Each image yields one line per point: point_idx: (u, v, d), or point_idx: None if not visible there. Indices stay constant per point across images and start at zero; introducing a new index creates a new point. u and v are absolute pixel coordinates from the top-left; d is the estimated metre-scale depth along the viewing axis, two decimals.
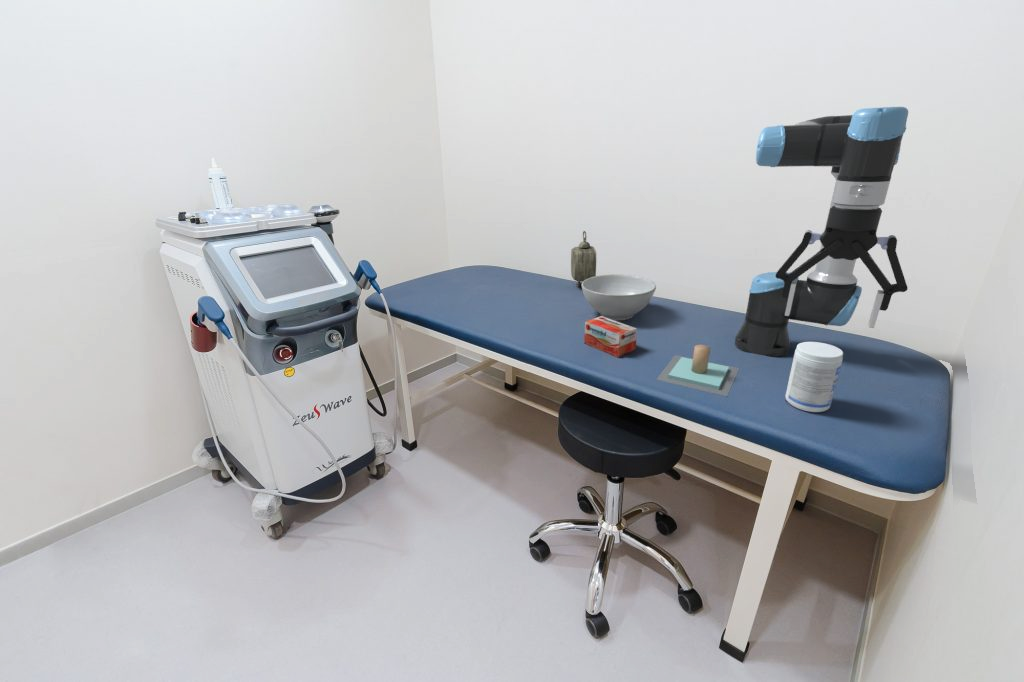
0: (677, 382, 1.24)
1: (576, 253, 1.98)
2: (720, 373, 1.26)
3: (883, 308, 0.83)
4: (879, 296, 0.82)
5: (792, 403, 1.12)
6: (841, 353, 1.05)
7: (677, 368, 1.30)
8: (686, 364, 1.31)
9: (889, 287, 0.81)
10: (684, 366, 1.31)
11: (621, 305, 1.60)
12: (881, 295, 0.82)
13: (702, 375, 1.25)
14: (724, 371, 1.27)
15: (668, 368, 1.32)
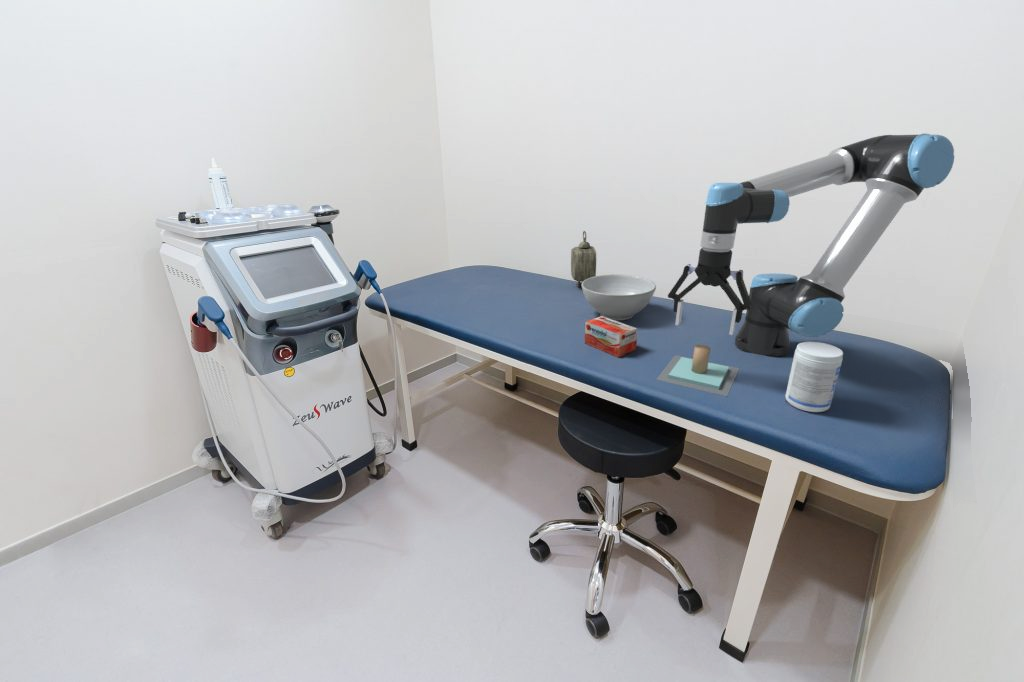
0: (677, 382, 1.24)
1: (576, 253, 1.98)
2: (720, 373, 1.26)
3: (737, 321, 1.17)
4: (733, 312, 1.16)
5: (792, 403, 1.12)
6: (841, 353, 1.05)
7: (677, 368, 1.30)
8: (686, 364, 1.31)
9: (739, 306, 1.15)
10: (684, 366, 1.31)
11: (621, 305, 1.60)
12: (734, 311, 1.16)
13: (702, 375, 1.25)
14: (724, 371, 1.27)
15: (668, 368, 1.32)
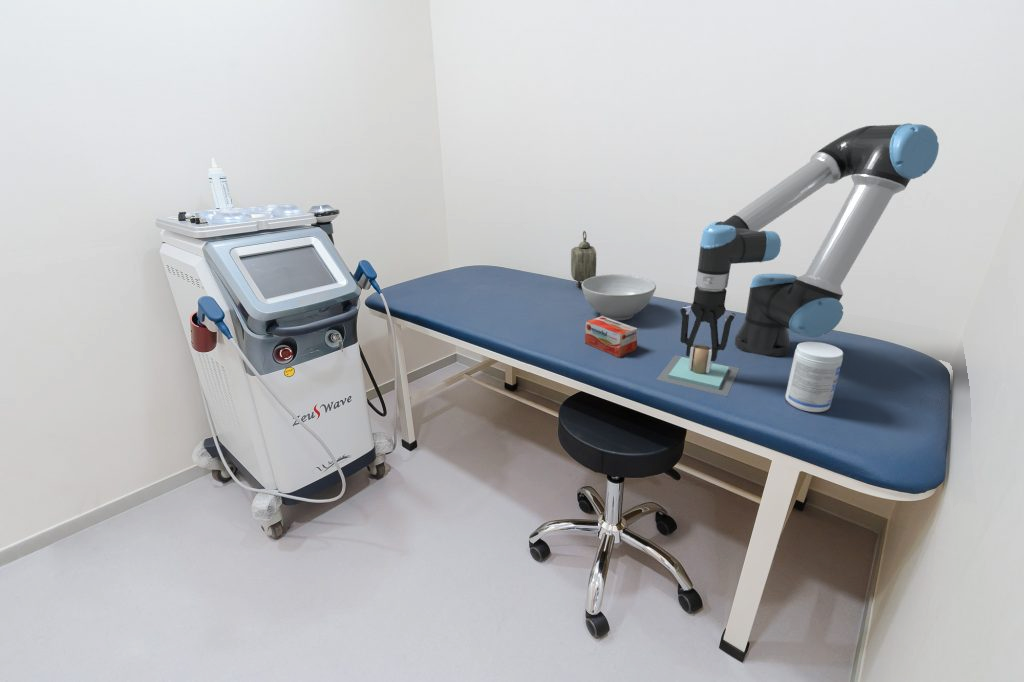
0: (677, 382, 1.24)
1: (576, 253, 1.98)
2: (720, 373, 1.26)
3: (713, 360, 1.24)
4: (709, 352, 1.23)
5: (792, 403, 1.12)
6: (841, 353, 1.05)
7: (677, 368, 1.30)
8: (686, 364, 1.31)
9: (715, 347, 1.22)
10: (684, 366, 1.31)
11: (621, 305, 1.60)
12: (710, 351, 1.23)
13: (702, 375, 1.25)
14: (724, 371, 1.27)
15: (668, 368, 1.32)
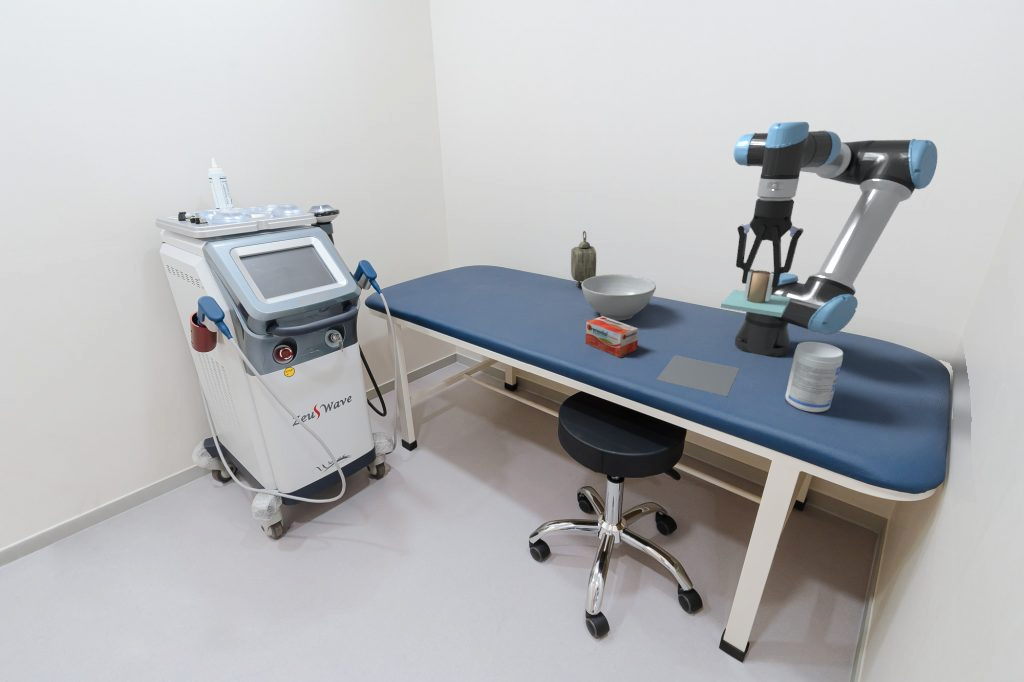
0: (677, 382, 1.24)
1: (576, 253, 1.98)
2: (781, 303, 1.10)
3: (774, 285, 1.09)
4: (770, 276, 1.08)
5: (792, 403, 1.12)
6: (841, 353, 1.05)
7: (730, 298, 1.15)
8: (740, 295, 1.16)
9: (778, 269, 1.07)
10: (739, 297, 1.15)
11: (621, 305, 1.60)
12: (771, 275, 1.08)
13: (760, 304, 1.10)
14: (786, 301, 1.11)
15: (668, 368, 1.32)
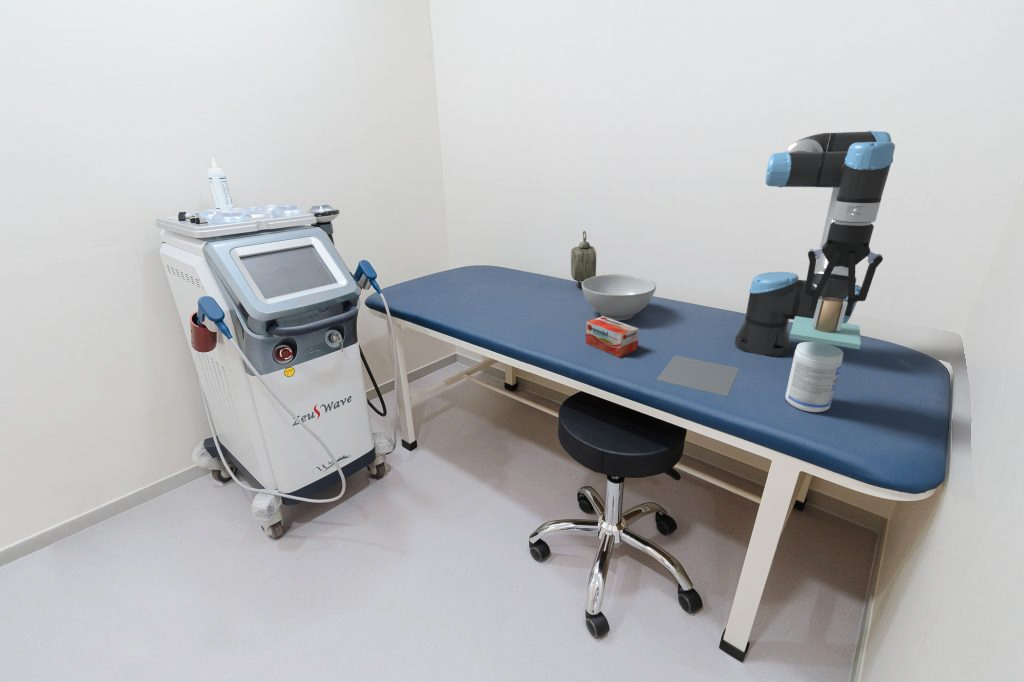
0: (677, 382, 1.24)
1: (576, 253, 1.98)
2: (853, 332, 1.04)
3: (847, 314, 1.02)
4: (844, 304, 1.01)
5: (792, 403, 1.12)
6: (841, 353, 1.05)
7: (797, 327, 1.07)
8: (805, 323, 1.09)
9: (853, 297, 1.00)
10: (804, 325, 1.08)
11: (621, 305, 1.60)
12: (845, 303, 1.01)
13: (832, 334, 1.03)
14: (857, 330, 1.05)
15: (668, 368, 1.32)
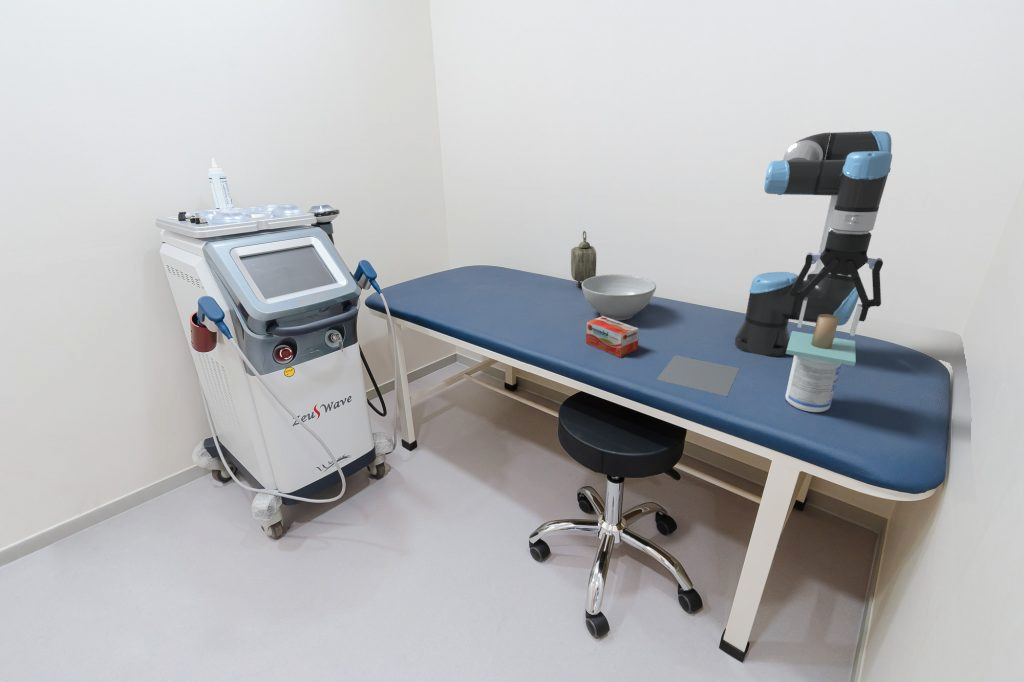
0: (677, 382, 1.24)
1: (576, 253, 1.98)
2: (849, 348, 1.05)
3: (862, 319, 1.01)
4: (858, 309, 1.00)
5: (792, 403, 1.12)
6: None
7: (793, 343, 1.09)
8: (802, 339, 1.11)
9: (867, 302, 0.99)
10: (801, 340, 1.10)
11: (621, 305, 1.60)
12: (860, 309, 1.00)
13: (828, 350, 1.05)
14: (852, 346, 1.06)
15: (668, 368, 1.32)
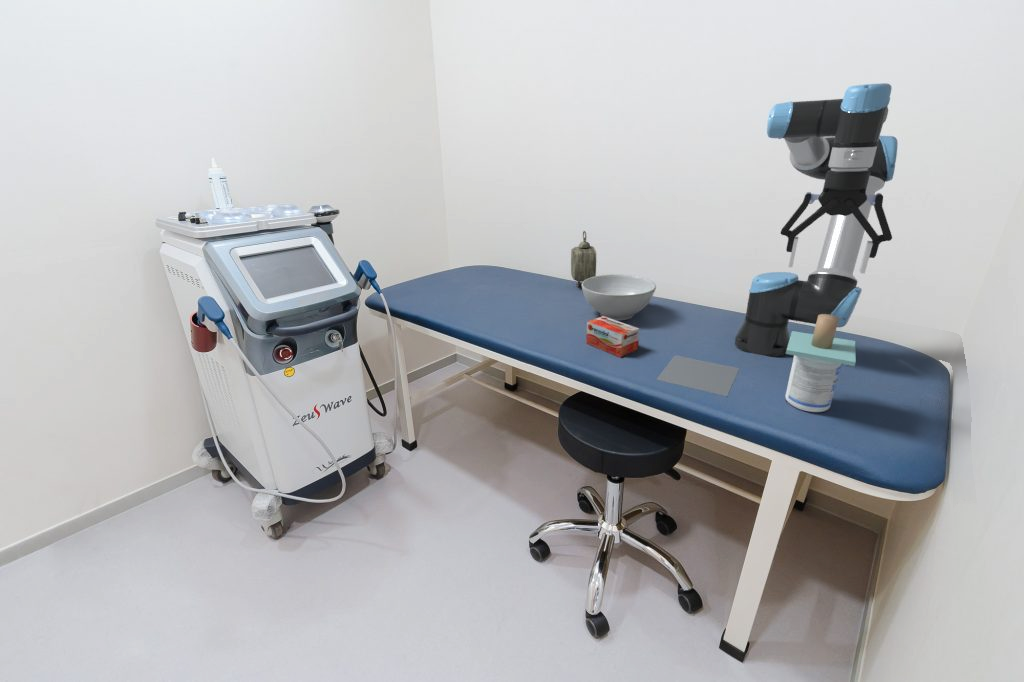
0: (677, 382, 1.24)
1: (576, 253, 1.98)
2: (849, 348, 1.05)
3: (872, 256, 0.99)
4: (869, 245, 0.98)
5: (792, 403, 1.12)
6: None
7: (793, 343, 1.09)
8: (802, 339, 1.11)
9: (877, 237, 0.96)
10: (801, 340, 1.10)
11: (621, 305, 1.60)
12: (870, 244, 0.97)
13: (828, 350, 1.05)
14: (852, 346, 1.06)
15: (668, 368, 1.32)
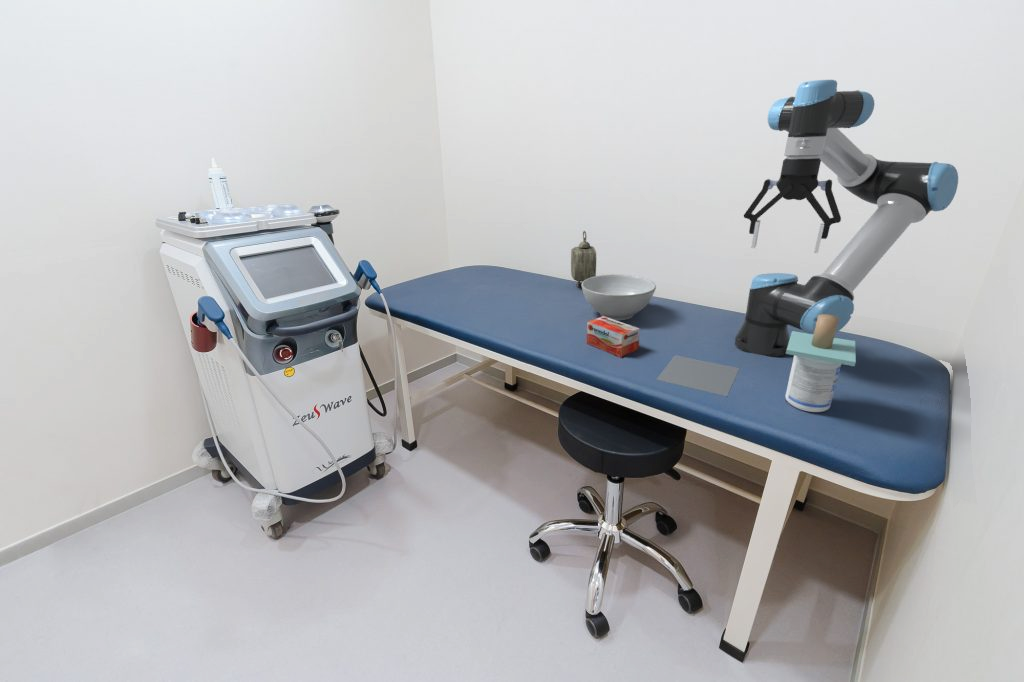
0: (677, 382, 1.24)
1: (576, 253, 1.98)
2: (849, 348, 1.05)
3: (824, 237, 1.08)
4: (820, 227, 1.07)
5: (792, 403, 1.12)
6: None
7: (793, 343, 1.09)
8: (802, 339, 1.11)
9: (827, 219, 1.06)
10: (801, 340, 1.10)
11: (621, 305, 1.60)
12: (822, 226, 1.07)
13: (828, 350, 1.05)
14: (852, 346, 1.06)
15: (668, 368, 1.32)
